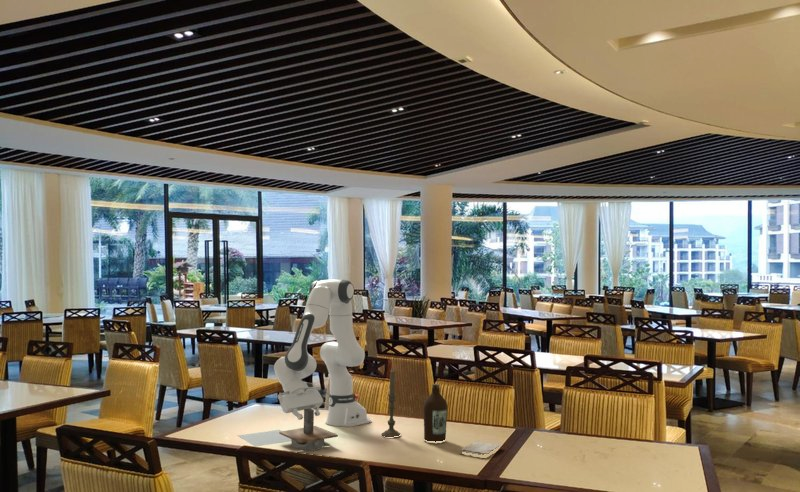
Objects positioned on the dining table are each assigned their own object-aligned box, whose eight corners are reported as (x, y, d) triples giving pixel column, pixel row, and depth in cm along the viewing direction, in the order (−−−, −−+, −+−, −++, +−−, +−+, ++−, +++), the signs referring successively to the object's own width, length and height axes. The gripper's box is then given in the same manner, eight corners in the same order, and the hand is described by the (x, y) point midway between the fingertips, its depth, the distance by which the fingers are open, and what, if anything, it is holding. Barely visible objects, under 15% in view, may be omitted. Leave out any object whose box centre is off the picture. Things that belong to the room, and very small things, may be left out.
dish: (322, 452, 272) (322, 440, 272) (288, 451, 272) (288, 439, 272) (326, 442, 287) (326, 431, 287) (294, 441, 287) (294, 430, 287)
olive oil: (418, 439, 293) (419, 383, 294) (439, 437, 298) (440, 381, 299) (430, 445, 284) (431, 387, 284) (451, 443, 288) (452, 385, 289)
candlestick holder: (402, 433, 303) (403, 368, 304) (400, 438, 294) (401, 371, 295) (382, 432, 304) (383, 367, 305) (379, 437, 295) (381, 370, 296)
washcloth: (459, 455, 271) (459, 448, 271) (476, 446, 287) (476, 438, 287) (485, 460, 265) (486, 453, 265) (502, 450, 281) (502, 443, 281)
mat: (279, 431, 303) (279, 429, 303) (298, 441, 287) (298, 439, 287) (237, 436, 292) (237, 435, 292) (255, 447, 275) (255, 446, 275)
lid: (315, 427, 292) (315, 403, 292) (337, 436, 278) (338, 410, 278) (279, 433, 281) (279, 408, 281) (300, 443, 267) (301, 416, 267)
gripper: (279, 389, 277) (293, 416, 270) (316, 383, 292) (331, 408, 285) (272, 398, 280) (286, 425, 273) (309, 391, 295) (323, 417, 288)
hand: (309, 417), depth 279 cm, fingers open, 8 cm apart
